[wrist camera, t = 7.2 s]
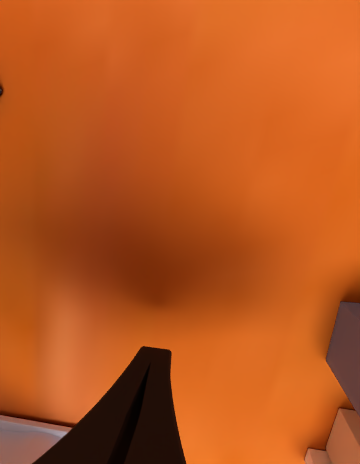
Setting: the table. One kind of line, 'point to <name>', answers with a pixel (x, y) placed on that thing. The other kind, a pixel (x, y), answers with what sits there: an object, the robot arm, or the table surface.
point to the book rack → (340, 441)
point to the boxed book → (347, 351)
